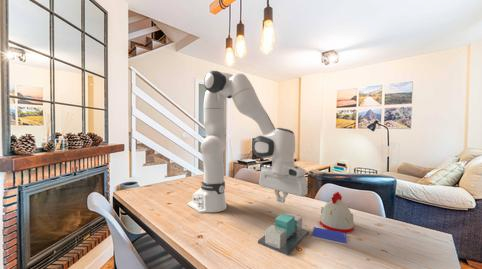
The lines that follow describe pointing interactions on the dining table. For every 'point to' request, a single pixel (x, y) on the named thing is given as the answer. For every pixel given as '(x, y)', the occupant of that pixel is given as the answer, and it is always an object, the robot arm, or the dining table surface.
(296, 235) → the rail panel
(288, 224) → the block
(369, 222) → the dining table surface
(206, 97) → the robot arm
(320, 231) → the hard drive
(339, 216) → the kitchen timer
